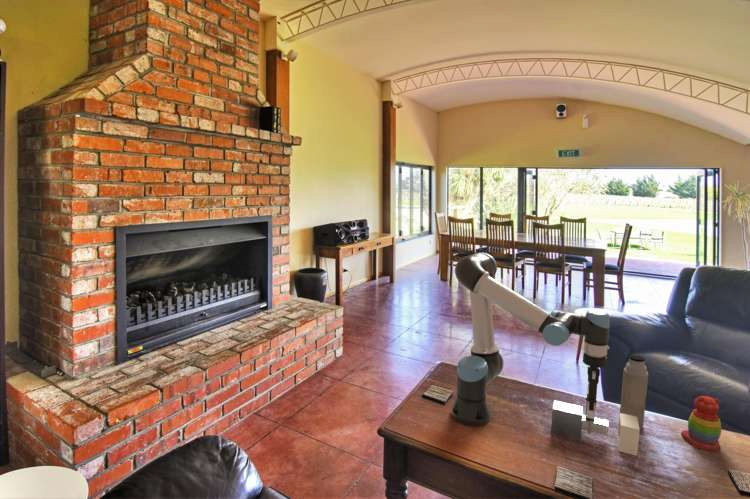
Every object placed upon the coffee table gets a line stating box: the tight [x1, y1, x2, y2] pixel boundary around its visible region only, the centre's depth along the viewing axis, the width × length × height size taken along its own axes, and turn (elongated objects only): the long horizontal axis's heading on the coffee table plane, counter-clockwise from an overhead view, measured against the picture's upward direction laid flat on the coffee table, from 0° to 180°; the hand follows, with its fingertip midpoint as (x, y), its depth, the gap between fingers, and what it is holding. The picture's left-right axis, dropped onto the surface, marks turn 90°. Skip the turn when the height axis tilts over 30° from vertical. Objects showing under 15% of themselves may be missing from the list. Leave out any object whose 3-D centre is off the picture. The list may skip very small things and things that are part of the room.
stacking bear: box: [680, 395, 722, 452], centre depth 149 cm, size 11×10×18 cm
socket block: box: [616, 412, 641, 456], centre depth 147 cm, size 6×9×10 cm, turn 152°
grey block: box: [550, 399, 584, 441], centre depth 156 cm, size 10×7×10 cm
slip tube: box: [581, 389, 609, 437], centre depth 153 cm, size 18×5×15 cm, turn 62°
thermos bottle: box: [619, 354, 649, 432], centre depth 159 cm, size 8×8×28 cm
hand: (590, 408), depth 152 cm, fingers open, 13 cm apart
